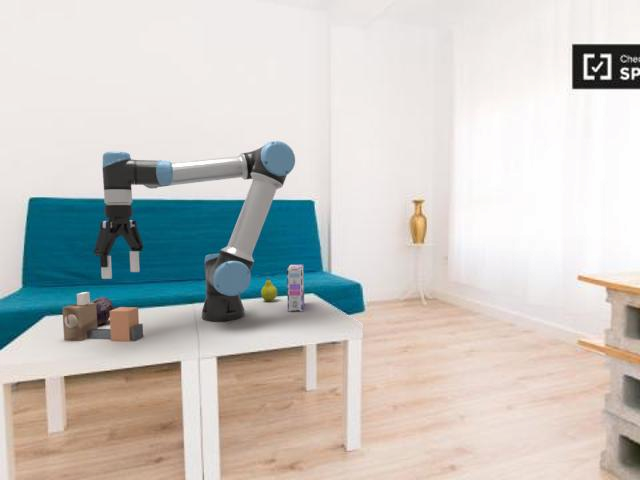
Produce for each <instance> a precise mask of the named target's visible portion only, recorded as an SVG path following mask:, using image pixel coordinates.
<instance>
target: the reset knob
mask: <svg viewBox="0 0 640 480" xmlns="http://www.w3.org/2000/svg"><path fill="white" fill-rule="evenodd" d="M90 296H91V295H90V291H85V292H83V291H82V292H80V293H76V303H77V305H86V304H90V302H91V297H90Z"/></svg>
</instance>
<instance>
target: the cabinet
mask: <svg viewBox="0 0 640 480" xmlns="http://www.w3.org/2000/svg"><path fill="white" fill-rule="evenodd" d="M62 325H63V327H62V328H63V339H64V341H78V342H79V341H85V340H87V339H88V338H87V330H90V329H92V328H94V329H99V328H98V326H97V310H96V303H90V304H86V305H77V302H76V303H72V304H70V305H66V306H62Z"/></svg>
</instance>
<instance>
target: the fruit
mask: <svg viewBox="0 0 640 480" xmlns="http://www.w3.org/2000/svg"><path fill="white" fill-rule="evenodd" d="M264 275H265V276H266V277H267V280H266V281H265V283H264V286H263V287H262V289H261V290H260V295H261V297H262V299H263V300H264V301H265V302H273V301H274V300H276V298H277V297H278V289H277V287H276V286H274V285H273V283H272V281H271V280H270V279H269V277H268V275H267V274H266V273H264Z"/></svg>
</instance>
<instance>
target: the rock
mask: <svg viewBox="0 0 640 480" xmlns="http://www.w3.org/2000/svg"><path fill="white" fill-rule="evenodd" d="M90 303H96V310H97V327H98V326H101V325H103V324H105V325H106V324H107V323H108V322H109V320H110V311H111V310H114V309H115V308H114V303H113V302H112V301H111V299H109V298H108V297H104V296H100V297H99V296H98V297H97V298H95V299H93V301H90Z"/></svg>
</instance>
